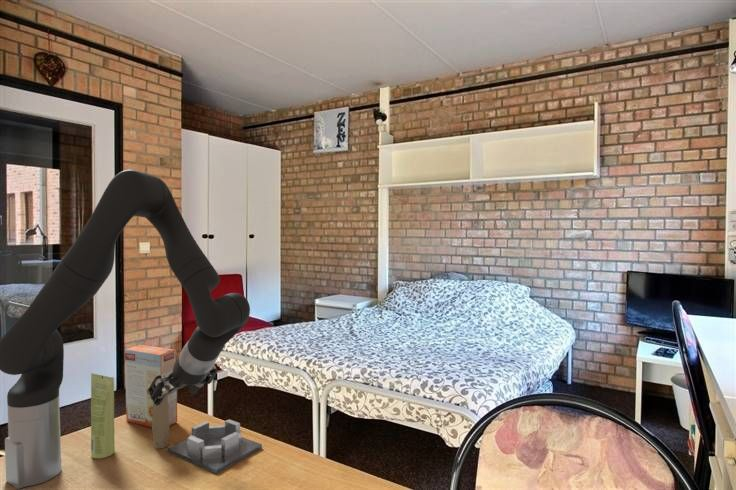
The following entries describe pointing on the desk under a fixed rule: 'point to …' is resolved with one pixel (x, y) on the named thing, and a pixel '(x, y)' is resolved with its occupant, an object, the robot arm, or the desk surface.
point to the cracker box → (147, 381)
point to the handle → (160, 422)
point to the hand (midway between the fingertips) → (174, 396)
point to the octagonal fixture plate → (215, 446)
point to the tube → (102, 416)
